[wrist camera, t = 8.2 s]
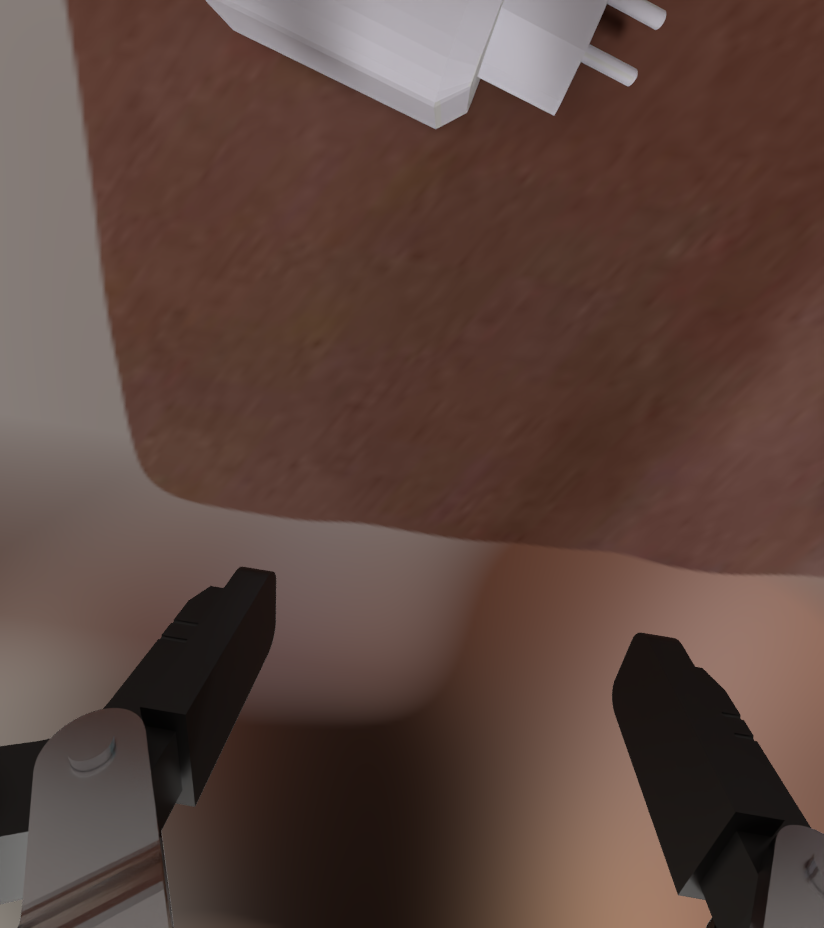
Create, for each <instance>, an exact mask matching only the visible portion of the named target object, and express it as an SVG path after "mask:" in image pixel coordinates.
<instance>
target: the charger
mask: <svg viewBox="0 0 824 928" xmlns="http://www.w3.org/2000/svg"><path fill="white" fill-rule="evenodd" d="M206 1H207V3H208V4H209V5H210V6H211V7H212V8H213V9H214V10H215V11H216V12H217V13H218V14H219V15H220V16H221V17H222V19H223V20H224V21H225V22H226V23H227V24H228V25H229V26H230V27H231V28H232V29H233V30H234V31H236V32H238V33H240V34H242V35H244V36H246V37H248V38H250V39H252V40H254V41H257V42H259V43H261V44H263V45H265V46H267V47H269V48H271V49H273V50H275V51H277V52H279V53H281V54H283V55H285V56H287V57H289V58H291V59H293V60H295V61H297V62H299V63H301V64H304V65H306V66H308V67H310V68H312V69H314V70H316V71H318V72H320V73H322V74H324V75H326V76H328V77H330V78H332V79H334V80H336V81H338V82H340V83H342V84H344V85H346V86H348V87H350V88H353V89H355V90H357V91H359V92H361V93H363V94H365V95H367V96H369V97H371V98H373V99H375V100H377V101H379V102H381V103H383V104H385V105H387V106H389V107H391V108H393V109H395V110H397V111H400V112H402V113H404V114H406V115H408V116H410V117H412V118H414V119H416V120H418V121H420V122H422V123H424V124H426V125H428V126H430V127H432V128H434V129H437V128H439V127H441V126H443V125H445V124H447V123H449V122H450V121H452V120H454V119H456V118H458V117H460V116H462V115H464V114H466V113H467V112H468V109H469V107H470V104H471V102H472V99H473V97H474V94H475V91H476V89H477V86H478V84H479V81H480V78H481V79H483V80H485V81H487V82H489V83H491V84H493V85H495V86H497V87H499V88H501V89H503V90H505V91H506V92H508V93H510V94H512V95H514V96H516V97H518V98H520V99H522V100H524V101H526V102H528V103H530V104H532V105H534V106H536V107H538V108H540V109H542V110H544V111H546V112H548V113H550V114H552V115H555V113H556V111H557V109H558V108H559V106H560V104H561V102H562V100H563V98H564V95H565V93H566V91H567V89H568V87H569V85H570V83H571V81H572V79H573V77H574V75H575V73H576V71H577V68H578V66H579V64H580V62H582V63H584V64H586V65H588V66H590V67H592V68H594V69H595V70H597V71H599V72H601V73H603V74H605V75H607V76H609V77H611V78H613V79H615V80H617V81H618V82H620V83H622V84H624V85H626V86H630V85H631V84H632V83H633V82H634V81H635V79H636V77H637V73H638V72H637V69H636V68H634V67H632V66H630V65H628V64H626V63H624V62H622V61H621V60H619V59H617V58H615V57H613V56H611V55H609V54H607V53H605V52H604V51H602V50H600V49H598V48H596V47H594V46H592V45H590V44H589V43H590V41H591V39H592V36H593V34H594V32H595V30H596V27H597V25H598V23H599V21H600V19H601V16H602V14H603V12H604V10H605V7H606V5H607V4H608V5H610V6H612V7H614V8H616V9H618V10H620V11H621V12H623V13H625V14H627V15H629V16H631V17H633V18H634V19H636V20H638V21H640V22H642V23H644V24H646V25H647V26H649V27H651V28H653V29H655V30H657V29H659V28H660V27H661V26H662V24H663V23H664V21H665V18H666V11H665V10H663V9H661V8H660V7H658V6H656V5H654V4H652V3H650V2H649V1H647V0H206Z"/></svg>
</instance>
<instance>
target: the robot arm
mask: <svg viewBox="0 0 824 928" xmlns="http://www.w3.org/2000/svg"><path fill="white" fill-rule="evenodd" d="M275 625H276V575H275V573H274V572H271V571H265V570H259V569H252V568H247V567H240V568H239V569H237V570H236V572H235V573H234V575H233V576H232V577H231V579H230V580H229V582H228V583H227V585H226V586H225V587H224V588H219V587H213V586H210V587H209V588H207V589H206V590H204V591H202V592H201V593H200V594H198V595H196V596H195V597H193V598H192V599H190V600H189V601H188V602H187V603H186V605H185V606H184V607H183V609H182V610H181V612H180V613H179V614H178V615H177V616H176V618H175V619H174V622H173V623H171V624H170V625H169V626H168V628H167V629H166V630H165V631H164V633H163V634H162V637H161V639H158V640H157V642H156V643H155V644H154V646H153V647H152V648H151V650H150V651H149V652H148V653H147V654H146V656H145V657H144V658H143V659H142V661H141V662H140V663H139V665H138V666H137V667H136V669H135V670H134V671H133V672H132V674H131V675H130V676H129V678H128V679H127V680H126V681H125V682H124V684H123V685H122V686H121V687H120V689H119V690H118V691H117V693H116V694H115V695H114V697H113V698H112V699H111V700H110V702H109V703H108V704H107V705H106V706H105V707H104V708H103V709H100V710H97V711H93V712H91V713H88V714H85V715H83V716H81V717H79V718H77V719H75V720H73V721H72V722H70V723H68V724H67V725H65V726H64V727H63V728H61V729H60V730H59V731H58V732H57V733H56V734H54V735H53V736H52V737H51V738H50V739H47V740H42V741H37V742H30V743H22V744H15V745H7V746H1V747H0V904H4V903H8V902H13V901H17V900H21V899H23V902H22V911H21V918H20V923H19V926H18V928H174V925H173V917H172V909H171V902H170V894H169V886H168V878H167V871H166V863H165V855H164V847H163V839H162V832H161V830H162V828H163V827H164V825H165V823H166V821H167V819H168V817H169V815H170V813H171V811H172V809H173V807H174V805H175V803H177V804H183V805H188V806H196V804H197V802H198V800H199V797H200V795H201V793H202V791H203V789H204V787H205V785H206V783H207V781H208V778H209V777H210V774H211V772H212V770H213V768H214V766H215V764H216V762H217V759H218V758H219V755H220V754H221V751H222V749H223V747H224V745H225V743H226V741H227V739H228V737H229V735H230V733H231V731H232V728H233V726H234V724H235V722H236V720H237V718H238V716H239V714H240V711H241V709H242V707H243V705H244V703H245V701H246V699H247V697H248V695H249V693H250V691H251V689H252V687H253V684H254V682H255V680H256V678H257V676H258V674H259V672H260V670H261V668H262V666H263V663H264V661H265V659H266V657H267V655H268V653H269V650H270V647H271V645H272V641H273V637H274V631H275ZM612 691H613V692H612V702H613V709H614V713H615V715H616V718H617V721H618V724H619V727H620V730H621V733H622V736H623V739H624V742H625V744H626V747H627V750H628V753H629V756H630V759H631V762H632V765H633V767H634V770H635V773H636V776H637V778H638V782H639V785H640V787H641V790H642V793H643V796H644V799H645V801H646V805H647V807H648V810H649V813H650V816H651V819H652V822H653V824H654V827H655V830H656V833H657V836H658V839H659V842H660V845H661V847H662V850H663V853H664V856H665V859H666V862H667V864H668V867H669V870H670V873H671V876H672V879H673V882H674V885H675V888H676V890H677V893H678V895H681V896H686V897H692V898H698V899H703V900H706V902H707V905H708V908H709V910H710V913H711V915H712V918H711V920H710V921H709V922H708V924H707V926H706V928H824V834H822V833H820V832H818V831H817V830H814V829H811V827H810V826H809V824H808V822H807V821H806V819H805V818H804V816H803V814H802V813H801V811H800V810H799V808H798V806H797V805H796V803H795V802H794V800H793V798H792V797H791V795H790V794H789V792H788V790H787V789H786V787H785V786H784V784H783V782H782V781H781V779H780V777H779V776H778V774H777V773H776V771H775V769H774V768H773V766H772V765H771V763H770V762H769V760H768V758H767V757H766V755H765V754H764V752H763V750H762V749H761V747H760V746H759V744H758V742H757V741H754V739H753V734H752V733H751V731H750V730H749V728H748V726H747V725H746V723H745V722H744V720H741V719H740V714H739V712H738V710H737V709H736V707H735V705H734V704H733V702H732V701H731V699H730V698H729V696H728V694H727V693H726V691H725V690H724V689H723V688H722V687H721V686H720V685H719V684H718V683H717V682H716V681H715V680H714V679H713V678H712V677H711V676H710V675H708V673H707V672H706V671H705V670H704V669H703V668H698V667H695V666H694V664H693V663H692V661H691V659H690V658H689V656H688V654H687V653H686V651H685V649H684V647H683V646H682V644H681V643H680V642H679V641H678V640H677V639H675V638H670V637H664V636H658V635H652V634H645V633H637V634H636V635H635V636H634V637H633V639H632V641H631V644H630V646H629V648H628V651H627V653H626V655H625V658H624V660H623V662H622V665H621V667H620V669H619V672H618V674H617V676H616V679H615V681H614V685H613V690H612Z"/></svg>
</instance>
